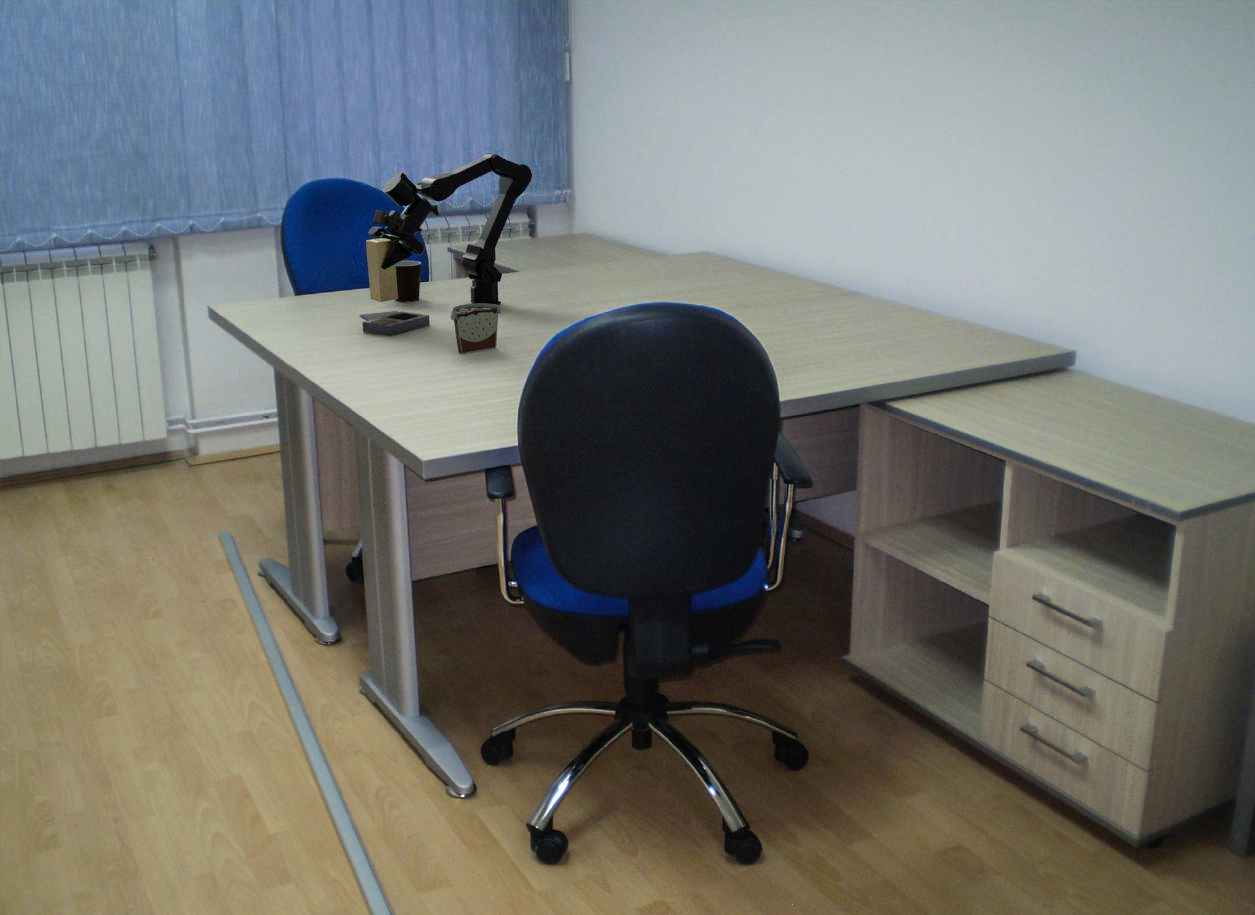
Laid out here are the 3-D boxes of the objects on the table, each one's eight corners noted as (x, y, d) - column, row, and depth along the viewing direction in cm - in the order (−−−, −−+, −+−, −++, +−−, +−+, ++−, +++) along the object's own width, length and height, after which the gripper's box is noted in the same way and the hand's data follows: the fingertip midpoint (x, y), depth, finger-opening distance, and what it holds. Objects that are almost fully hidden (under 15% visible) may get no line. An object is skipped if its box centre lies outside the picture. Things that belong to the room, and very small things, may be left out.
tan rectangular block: (387, 296, 327) (383, 238, 322) (398, 299, 324) (393, 240, 319) (370, 299, 324) (365, 240, 319) (380, 302, 321) (376, 242, 316)
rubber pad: (397, 312, 332) (396, 310, 332) (409, 319, 324) (409, 318, 324) (359, 316, 328) (359, 314, 328) (371, 323, 319) (371, 322, 319)
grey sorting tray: (402, 321, 322) (401, 311, 321) (429, 325, 318) (429, 314, 317) (363, 331, 311) (362, 321, 310) (391, 336, 306) (390, 325, 305)
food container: (487, 342, 300) (485, 300, 297) (501, 347, 296) (500, 304, 292) (442, 350, 293) (440, 307, 290) (456, 355, 288) (454, 311, 285)
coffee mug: (416, 303, 344) (414, 266, 340) (386, 302, 345) (384, 265, 342) (431, 295, 354) (429, 259, 351) (402, 294, 356) (400, 258, 353)
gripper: (372, 194, 325) (337, 242, 322) (411, 201, 312) (375, 251, 309) (400, 222, 333) (366, 269, 329) (440, 230, 319) (405, 279, 316)
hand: (377, 267), depth 321 cm, fingers closed on tan rectangular block, 5 cm apart
